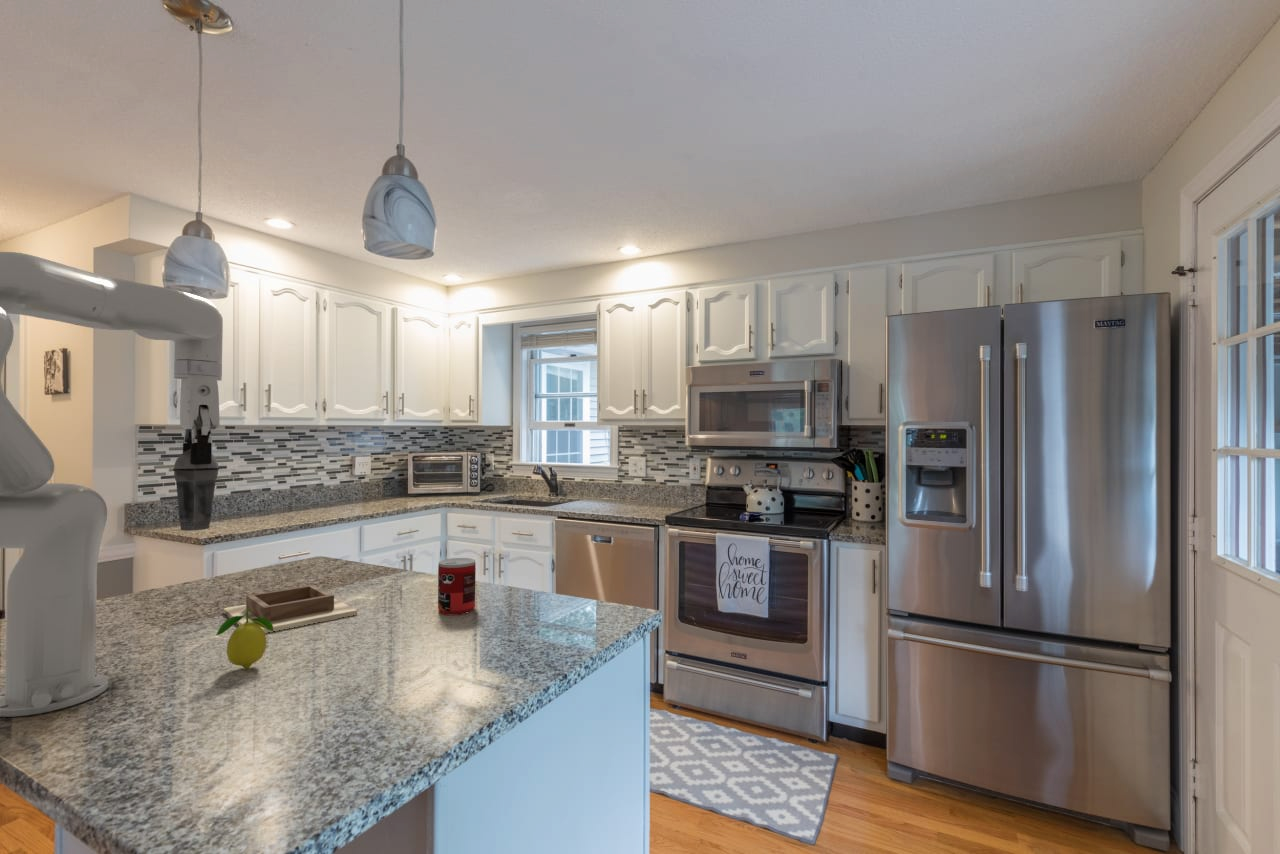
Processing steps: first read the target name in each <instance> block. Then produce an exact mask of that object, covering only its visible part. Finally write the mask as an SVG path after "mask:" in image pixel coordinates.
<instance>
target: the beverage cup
mask: <svg viewBox="0 0 1280 854" xmlns="http://www.w3.org/2000/svg"><path fill="white" fill-rule="evenodd" d="M191 436H192V429H191ZM192 443H193V438H192ZM190 454H191V449H190V450H187V451H185V452H183V451H182V453H181V454H180V455H179V456H178V457H177V458H176V460H175V461H174V465H173V469H172V470H173V476H174V480H175V483H176V494H177V507H178V508H177V509H178V519H179V525H180V531H189V532H191V531H200V530H201V531H202V530H207V529H208V530H209V529H210V525H211V520H212V514H213V513H212V512H213V505H214V504H213V503H214V498H215V490H216V489H215V488H216V481H217V478H218V475H219V470H220V467H219V463H218V460H217V458H216V456H215V455H214V454H213V453H212V455H211V464H196V465H193V464H191V463H190Z"/></svg>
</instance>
